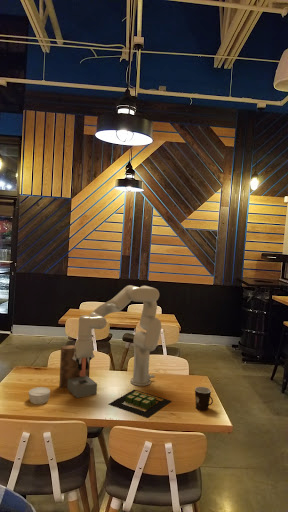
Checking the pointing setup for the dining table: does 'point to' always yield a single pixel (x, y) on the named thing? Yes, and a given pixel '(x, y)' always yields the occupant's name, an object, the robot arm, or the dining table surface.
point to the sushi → (140, 403)
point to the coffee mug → (202, 398)
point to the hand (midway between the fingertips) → (82, 369)
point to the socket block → (82, 386)
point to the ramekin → (39, 395)
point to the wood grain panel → (69, 366)
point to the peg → (83, 367)
